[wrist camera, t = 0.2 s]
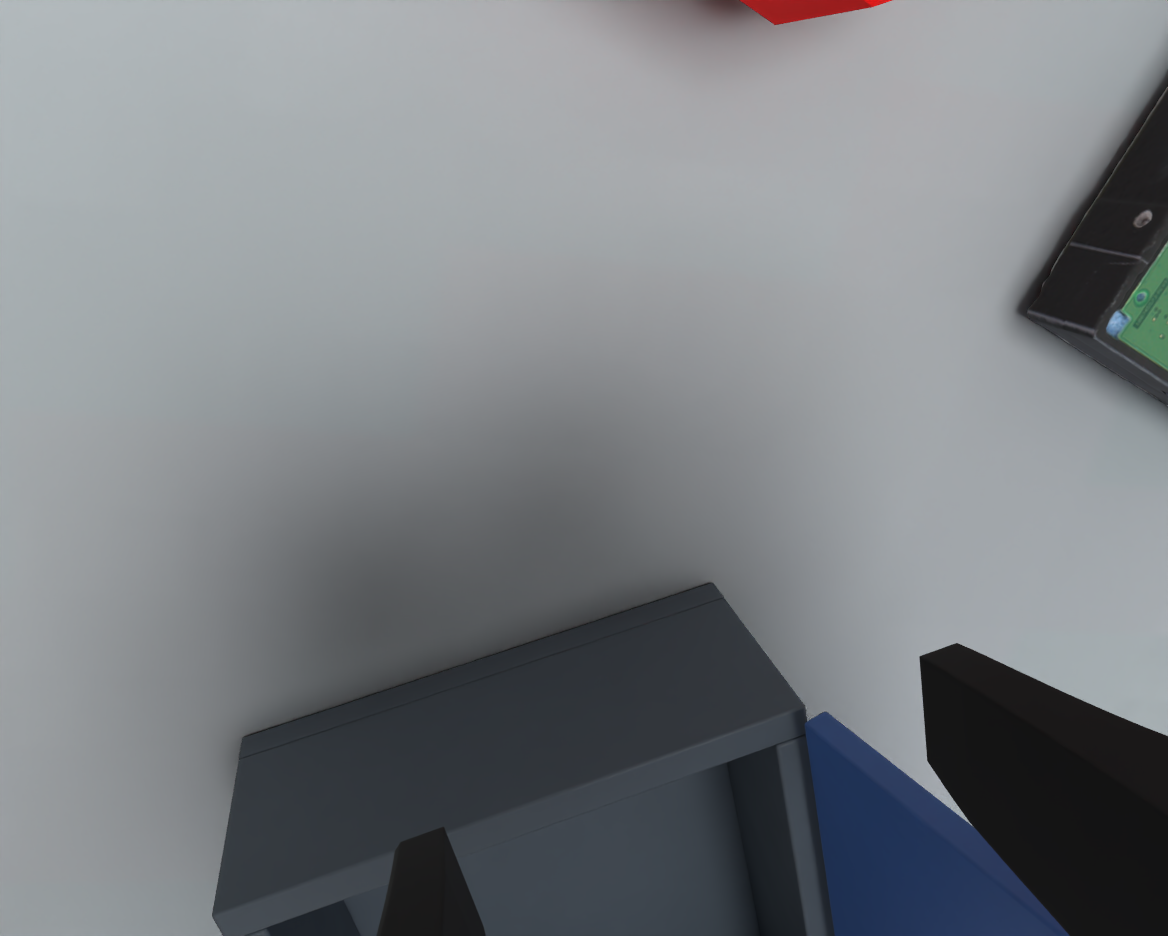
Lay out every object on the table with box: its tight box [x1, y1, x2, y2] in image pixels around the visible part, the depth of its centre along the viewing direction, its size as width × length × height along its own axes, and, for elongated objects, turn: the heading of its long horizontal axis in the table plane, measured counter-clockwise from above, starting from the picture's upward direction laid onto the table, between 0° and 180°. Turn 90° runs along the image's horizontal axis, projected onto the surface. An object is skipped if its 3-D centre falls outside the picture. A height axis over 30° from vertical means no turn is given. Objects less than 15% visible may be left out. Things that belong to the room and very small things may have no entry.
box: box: [212, 583, 835, 936], centre depth 23 cm, size 13×14×5 cm
